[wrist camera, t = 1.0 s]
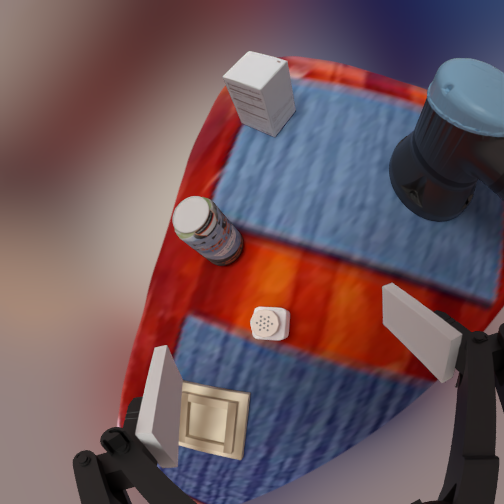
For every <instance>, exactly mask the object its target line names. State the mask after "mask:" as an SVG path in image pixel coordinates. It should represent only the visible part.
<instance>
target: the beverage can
mask: <svg viewBox="0 0 504 504" xmlns="http://www.w3.org/2000/svg"><path fill="white" fill-rule="evenodd" d="M173 225H174V229H175V232H176V234H177V235H178V237H179V238H180V239H182V240H183V241H184V242H185V243H187V244H188V245H189V246H191V247H192V248H193V249H195V250H196V251H197V252H199V253H200V254H201V255H203V256H204V257H205V258H207V259H208V260H209V261H210V262H212V263H213V264H216V265H220V266H224V265H228V264H230V263H232V262H234V261H235V260H236V259H237V258H238V257H239V256H240V254H241V252H242V249H243V238H242V236H241V234H240V233H239V232H238V230H237V229H236V228H235V227H234V226H233V225H232V223H231V222H230V221H229V220H228V219H227V217H226V216H225V215H224V214H223V213H222V212H221V210H220V209H219V208H218V207H217V206H216V204H215V203H214V202H213V201H211V200H210V199H208V198H204V197H199V196H192V197H189V198H186V199H185V200H183V201H182V202H181V203H180V204H179V205H178V206H177V207H176V209H175V211H174V214H173Z"/></svg>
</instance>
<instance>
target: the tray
mask: <svg viewBox="0 0 504 504" xmlns="http://www.w3.org/2000/svg"><path fill="white" fill-rule="evenodd" d="M249 402H250V393H249V392H242V391H236V390H230V389H224V388H218V387H213V386H208V385H203V384H198V383H193V382H188V381H184V380H183V385H182V398H181V411H180V427H179V445H180V446H184V447H187V448H191V449H195V450H199V451H203V452H207V453H211V454H215V455H220V456H224V457H229V458H234V459H239V460H241V459H242V458H243V454H244V445H245V437H246V428H247V420H248V411H249Z"/></svg>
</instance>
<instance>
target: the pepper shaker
mask: <svg viewBox="0 0 504 504" xmlns="http://www.w3.org/2000/svg"><path fill="white" fill-rule="evenodd" d="M289 323H290V313H289V311H287V310H285V309H283V308H276V307H257V308H256V309H255V310H254V315H253V316H252V318H251V321H250V324H251V330H252V334H253V337H254V338H256V339H263V340H278V341H280V340H283V339H285V338H287V337H288V335H289Z"/></svg>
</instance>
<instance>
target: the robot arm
mask: <svg viewBox="0 0 504 504" xmlns="http://www.w3.org/2000/svg"><path fill="white" fill-rule="evenodd" d="M389 174H390V179H391V183H392V186H393V188H394V190H395V192H396V194H397V195H398V197H399V198H400V200H401V201H402V202H403V203H404V204H405V205H406V206H407V207H408V208H409V209H410V210H411V211H413V212H414V213H416V214H417V215H419V216H421V217H423V218H426V219H429V220H433V221H447V220H450V219H453V218H455V217H457V216H458V215H459V214H460V213H461V212H463V211H464V210H465V209H466V208H467V206H468V205H469V203H470V202H471V199H472V197H473V194H474V190H475V187H476V183H477V180H478V179H479V180H480V181H482V182H483V183H484V184H485V185H487V186H488V187H489V188H490V189H491V190H493V191H494V192H495V193H496V194H497V195H498V196H499V197H500V198H502V199H503V200H504V73H503V72H501V71H500V70H498V69H497V68H495V67H493V66H491V65H489V64H487V63H484V62H481V61H478V60H475V59H469V58H465V59H462V58H455V59H451V60H449V61H447V62H445V63H443V64H442V65H441V66H440V67H439V69H438V71H437V73H436V75H435V78H434V80H433V82H432V83H431V84H430V86H429V88H428V91H427V99H426V102H425V104H424V107H423V110H422V112H421V115H420V117H419V120H418V122H417V124H416V127H415V130H414V131H413V132H412V133H411V134H409V135H408V136H406V137H405V138H403V139H402V140H401V141H400V142H399V143H398V145H397V146H396V148H395V149H394V152H393V154H392V157H391V160H390V165H389ZM382 295H383V324H384V325H385V326H386V327H387V328H388V329H389V330H390V331H391V332H392V333H393V334H394V335H395V336H396V337H397V338H398V339H399V340H400V341H401V342H402V343H403V344H404V345H405V346H406V347H407V348H408V349H409V350H410V351H411V352H412V353H413V354H414V355H415V356H416V357H417V358H418V359H419V360H420V361H421V362H422V363H423V364H424V365H425V366H426V367H427V368H428V369H429V370H430V371H431V372H432V374H433V375H434V376H435V377H436V378H437V379H438V380H439V381H440V382H441V383H444V382H446V381H447V380H449V379H451V378H452V377H453V375H454V371H455V368H456V369H457V370H458V371H459V376H458V379H457V383H456V387H457V386H458V390H457V403H456V415H455V424H454V431H453V438H452V445H451V451H450V457H449V462H448V467H447V472H446V476H445V480H444V485H443V488H442V491H441V493H440V495H439V498H438V500H437V501H429V502H424V503H422V502H421V500H420V499H419V500H417V501H415V502H413V503H411V504H494V501H495V494H496V488H497V480H498V472H499V458H498V457H497V456H495V443H496V442H495V441H496V396H495V395H496V394H495V387H496V390H497V393H498V396H499V399H500V402H501V405H502V408H503V412H504V323H503V324H502V325H501V326H500V327H499V331H498V333H495V334H492V335H487V334H486V333H484V332H481V331H475V332H471V331H469V330H468V329H467V328H465V327H464V326H462V325H461V324H460V323H458V322H456V320H454V319H453V318H451V317H450V316H449V315H447V314H446V313H444V312H441V311H438V310H436V311H434V312H432V311H431V310H429V309H428V308H427V307H425V306H424V305H423V304H421V303H420V302H419V301H417V300H416V299H414V298H413V297H412V296H410V295H409V294H407V293H406V292H405V291H403V290H402V289H400V288H399V287H398V286H396V285H395V284H393V283H390V284H388V285H385V286H382ZM182 385H183V379H182V377H181V375H180V373H179V371H178V369H177V366H176V364H175V362H174V360H173V358H172V355H171V353H170V351H169V349H168V346H167V345H165V346H160V347H155V349H154V353H153V357H152V361H151V365H150V369H149V373H148V377H147V382H146V386H145V390H144V395H143V397H137V398H133V400H132V401H131V403H130V404H129V406H128V410H127V414H126V417H125V419H126V420H125V421H124V425H123V428H120V427H114V428H110V429H108V430H107V431H105V432H104V433H103V435H102V436H101V440H100V442H101V445H102V446H103V447H104V449H105V450H106V451H107V453H103V454H100V455H95V454H94V453H93V452H91V451H88V450H85V451H81V452H79V453H78V454H77V455H76V456H75V457H74V459H73V469H74V474H75V479H76V483H77V488H78V492H79V496H80V499H81V504H132V503H131V501H130V498H129V496H128V494H127V491H126V489H128V488H132V487H136V489H137V490H138V491H139V492H140V493H141V495H142V496H143V497H144V498H145V499H146V500H147V501H148V502H149V503H150V504H197V503H196V502H194V501H193V500H192V499H191V498H190V497H189V496H188V495H186V494H185V493H184V492H183V491H182V490H181V489H180V488H179V487H178V486H176V485H175V484H174V483H173V482H172V481H171V480H170V479H169V478H168V477H167V476H166V475H165V474H164V473H163V472H162V471H161V470H160V469H159V468H158V467H157V462H158V464H159V465H160V466H161V467H162V468H170V467H178V445H179V427H180V411H181V398H182Z"/></svg>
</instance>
